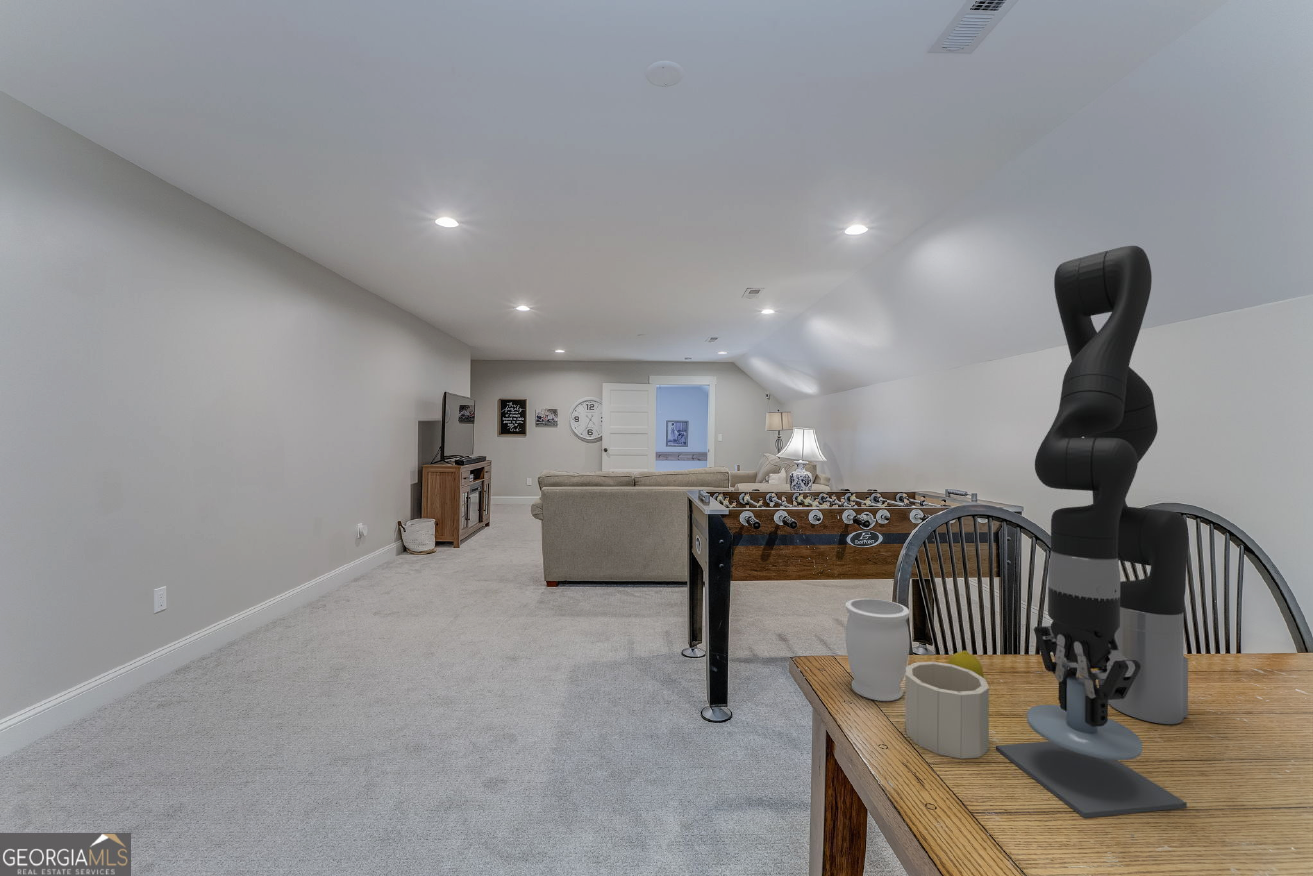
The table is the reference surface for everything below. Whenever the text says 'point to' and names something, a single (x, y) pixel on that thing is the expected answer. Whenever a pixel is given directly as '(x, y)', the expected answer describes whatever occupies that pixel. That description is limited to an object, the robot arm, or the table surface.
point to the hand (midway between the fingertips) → (1081, 716)
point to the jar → (877, 647)
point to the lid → (1083, 728)
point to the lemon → (967, 662)
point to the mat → (1089, 780)
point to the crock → (947, 709)
